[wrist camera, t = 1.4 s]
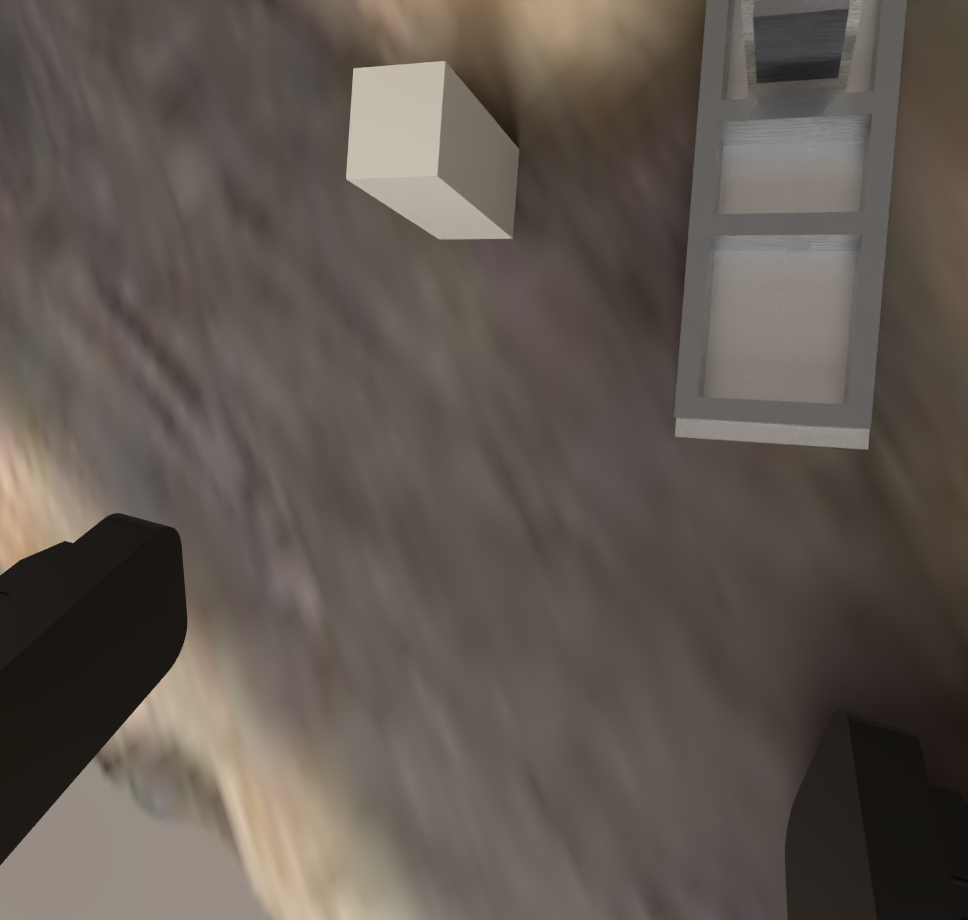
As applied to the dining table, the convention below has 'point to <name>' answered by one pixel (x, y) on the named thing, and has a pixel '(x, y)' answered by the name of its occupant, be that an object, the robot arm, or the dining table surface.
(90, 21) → the dining table surface
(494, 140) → the tall off-white block
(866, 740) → the robot arm
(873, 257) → the gray compartment block tray
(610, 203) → the dining table surface
